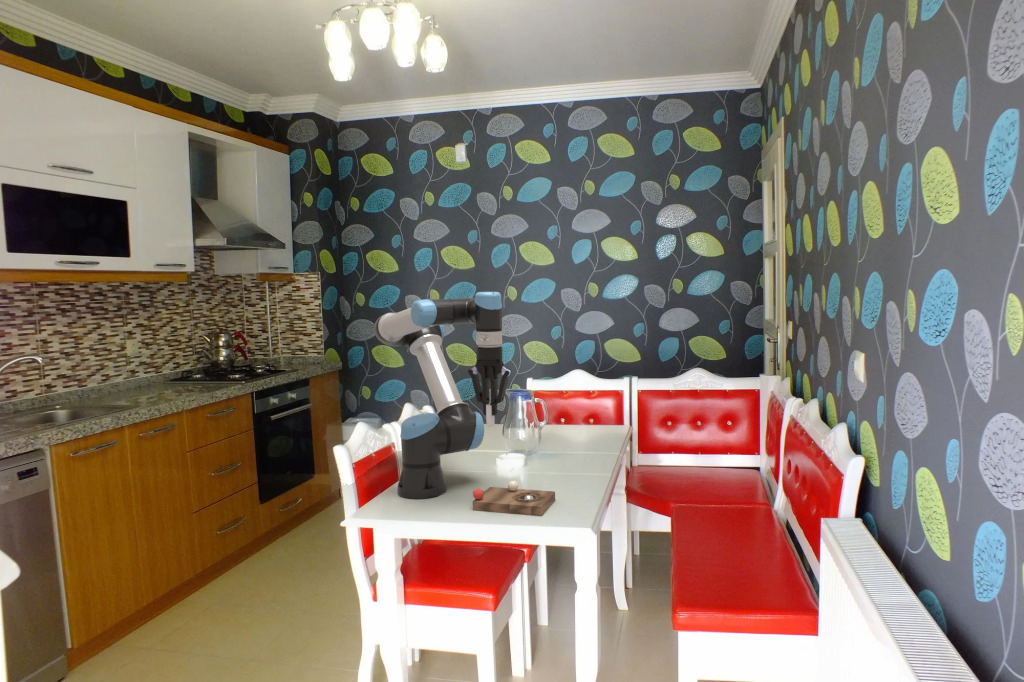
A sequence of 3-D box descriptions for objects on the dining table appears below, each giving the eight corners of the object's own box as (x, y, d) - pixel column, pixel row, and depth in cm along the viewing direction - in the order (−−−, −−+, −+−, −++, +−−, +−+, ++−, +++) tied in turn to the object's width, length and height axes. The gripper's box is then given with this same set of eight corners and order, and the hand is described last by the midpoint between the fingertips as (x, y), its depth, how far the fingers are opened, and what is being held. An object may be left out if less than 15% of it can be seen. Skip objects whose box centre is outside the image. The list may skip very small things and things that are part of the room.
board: (472, 510, 188) (472, 501, 188) (490, 495, 201) (490, 486, 201) (541, 515, 182) (541, 506, 181) (555, 500, 195) (555, 491, 195)
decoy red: (471, 500, 189) (471, 490, 188) (475, 497, 191) (475, 487, 191) (481, 501, 188) (481, 490, 187) (485, 498, 190) (485, 487, 190)
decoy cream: (506, 492, 196) (506, 481, 195) (510, 489, 198) (509, 479, 198) (516, 492, 195) (516, 482, 194) (519, 489, 197) (519, 479, 197)
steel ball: (519, 501, 189) (527, 494, 188) (522, 497, 192) (530, 491, 191) (526, 510, 189) (534, 503, 188) (529, 506, 192) (538, 500, 191)
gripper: (463, 346, 192) (464, 427, 195) (505, 347, 188) (507, 430, 190) (473, 343, 199) (475, 422, 202) (514, 344, 195) (516, 424, 197)
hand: (490, 426), depth 196 cm, fingers closed
